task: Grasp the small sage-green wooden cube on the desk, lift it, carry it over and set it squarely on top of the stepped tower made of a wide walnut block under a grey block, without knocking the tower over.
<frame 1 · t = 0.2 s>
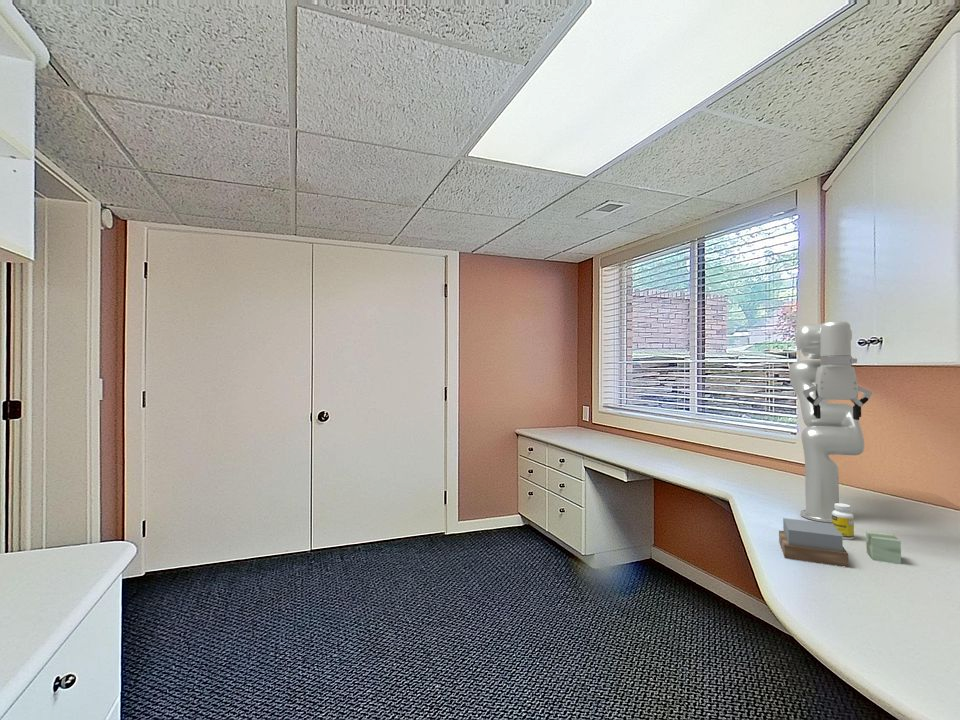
hand: (836, 419, 148), 36 cm above the table, tool pointing down, fingers open, 9 cm apart
sage cube: (883, 558, 133), on the table
tower base block: (811, 555, 136), on the table
tower top block: (811, 541, 136), point 3 cm above the table
supplement bottle: (842, 537, 150), on the table
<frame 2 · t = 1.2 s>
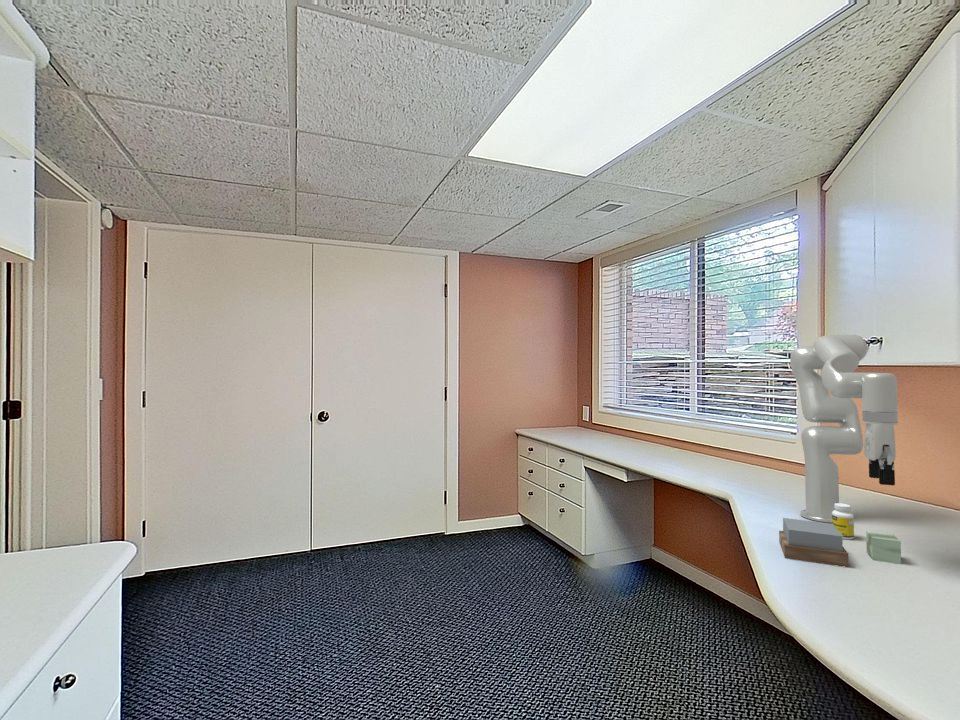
hand: (881, 481, 133), 21 cm above the table, tool pointing down, fingers open, 9 cm apart
tower base block: (811, 555, 136), on the table, touching tower top block
tower top block: (811, 541, 136), point 3 cm above the table, touching tower base block
everything else where it was.
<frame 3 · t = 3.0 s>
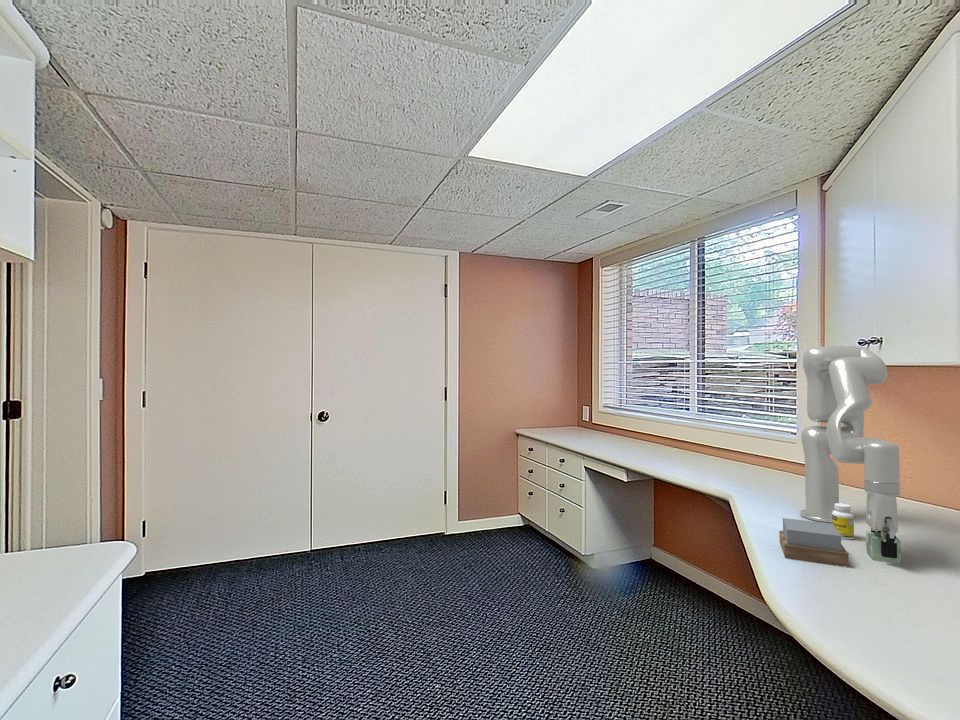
hand: (883, 551, 132), 2 cm above the table, tool pointing down, fingers open, 9 cm apart
nothing on the table moved.
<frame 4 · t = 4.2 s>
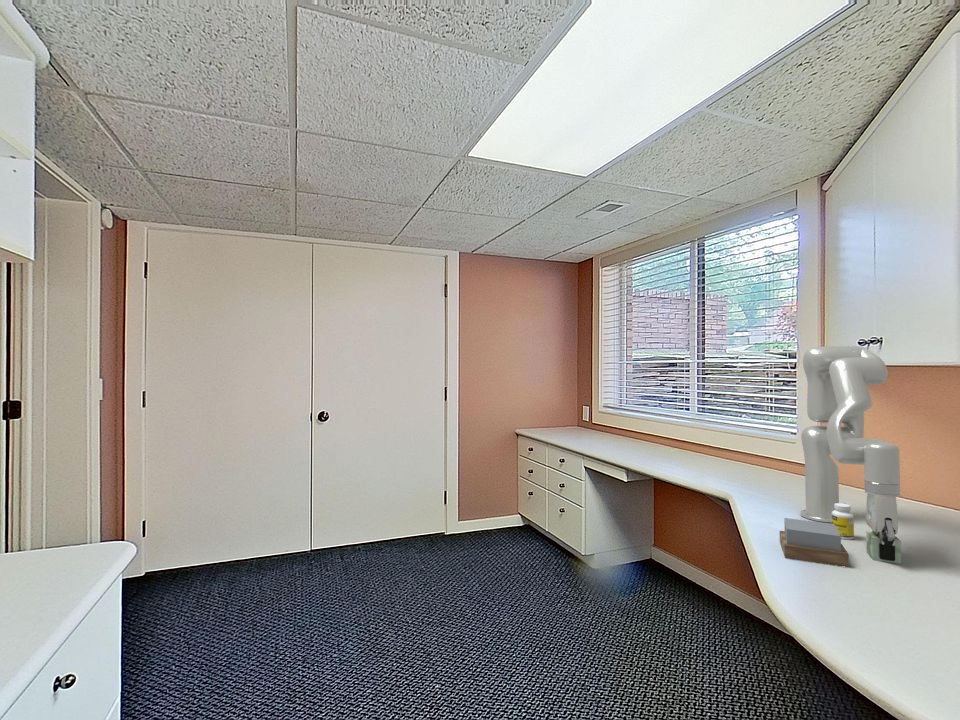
hand: (883, 554, 133), 1 cm above the table, tool pointing down, fingers closed on sage cube, 6 cm apart
sage cube: (883, 558, 133), on the table, touching gripper
everything else where it was.
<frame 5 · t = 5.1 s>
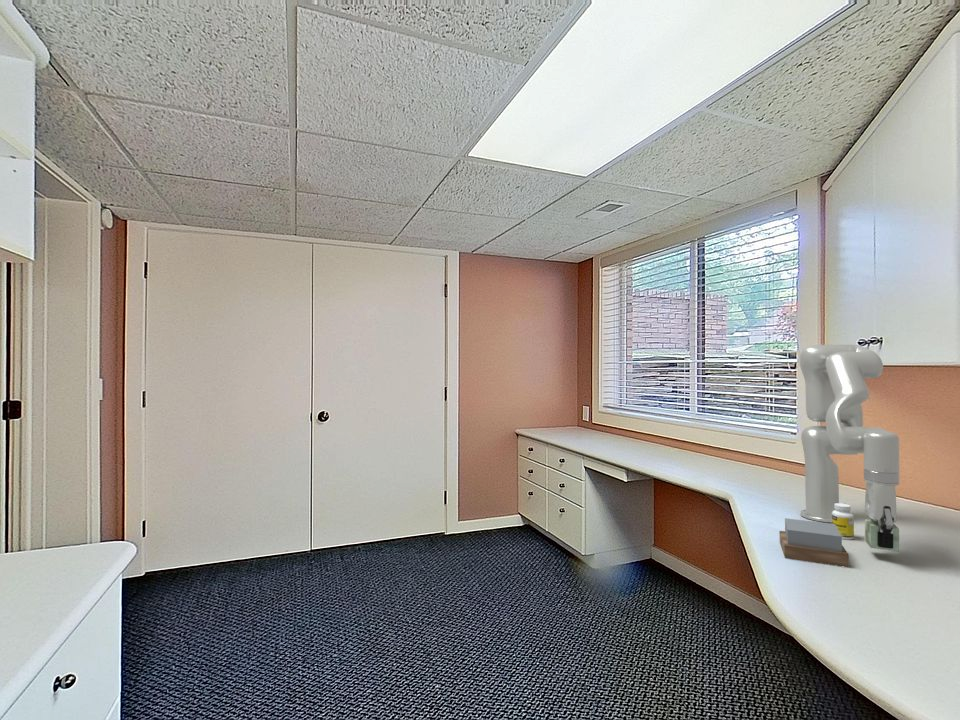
hand: (881, 542, 133), 4 cm above the table, tool pointing down, fingers closed on sage cube, 6 cm apart
sage cube: (881, 545, 133), point 3 cm above the table, touching gripper
everything else where it was.
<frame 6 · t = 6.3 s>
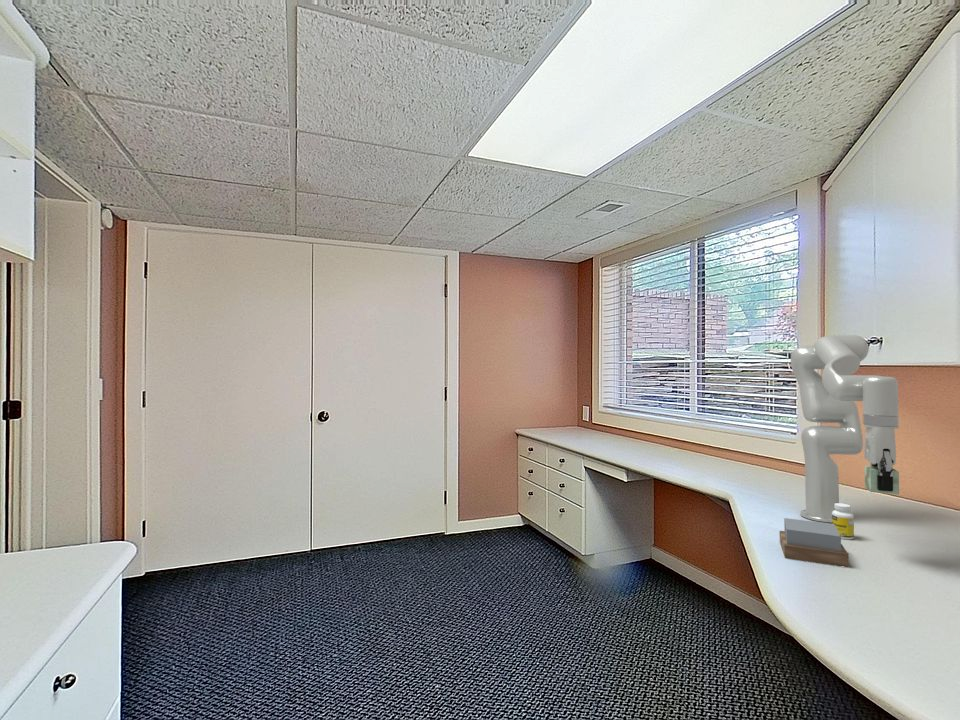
hand: (881, 487, 133), 19 cm above the table, tool pointing down, fingers closed on sage cube, 6 cm apart
sage cube: (881, 490, 133), point 18 cm above the table, touching gripper
everything else where it was.
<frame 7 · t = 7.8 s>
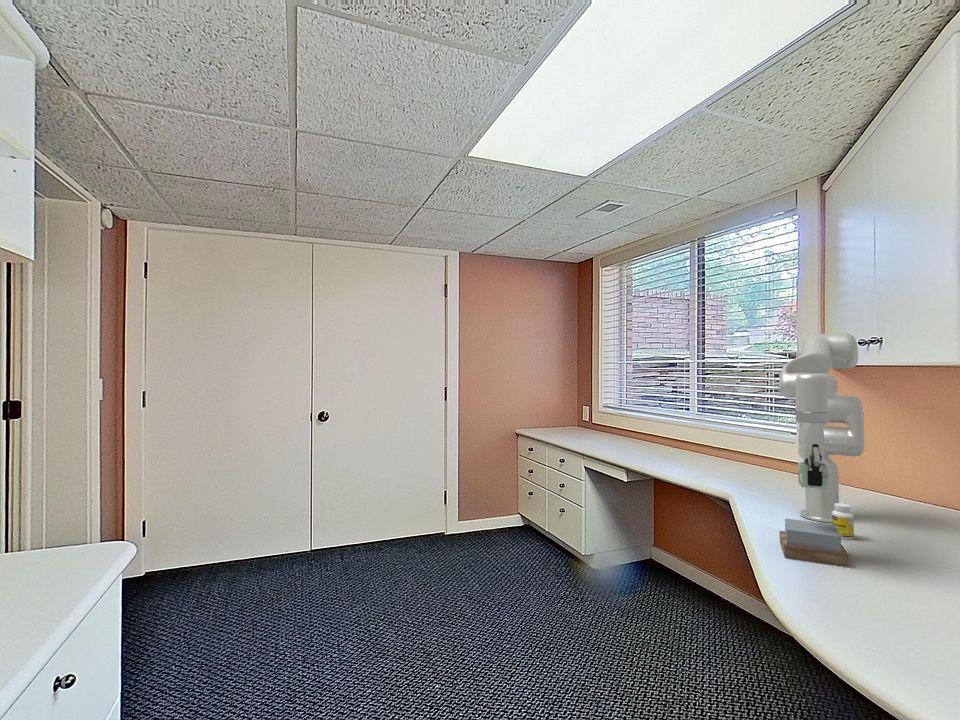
hand: (812, 482, 136), 20 cm above the table, tool pointing down, fingers closed on sage cube, 6 cm apart
sage cube: (812, 485, 136), point 19 cm above the table, touching gripper
everything else where it was.
when the fingers open (9 cm above the table, at t = 11.9 s): sage cube stays where it is, resting on tower top block.
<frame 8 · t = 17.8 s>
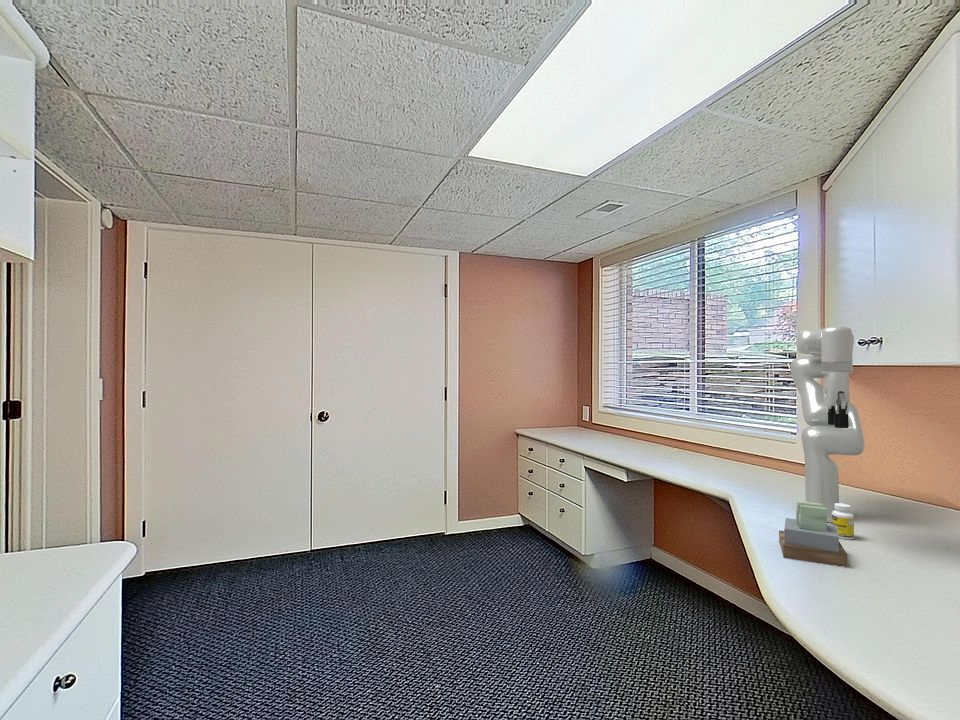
hand: (837, 426, 145), 34 cm above the table, tool pointing down, fingers open, 9 cm apart
sage cube: (810, 526, 136), point 7 cm above the table, touching tower top block
tower top block: (810, 541, 136), point 3 cm above the table, touching sage cube, tower base block
everything else where it was.
at the end: sage cube 0.1 cm off-centre on the tower top block, point 4.0 cm above the tower top block's base; sage cube tilted 0°; tower top block 0.2 cm off-centre on the tower base block, point 4.0 cm above the tower base block's base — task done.
